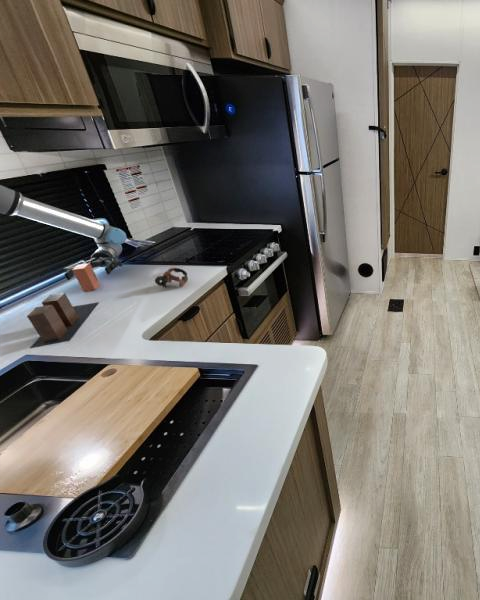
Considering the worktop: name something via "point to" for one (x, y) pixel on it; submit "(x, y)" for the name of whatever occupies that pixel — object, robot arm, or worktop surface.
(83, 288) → the terracotta toy brick
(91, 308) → the dark gray mat
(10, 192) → the robot arm
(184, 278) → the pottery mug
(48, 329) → the dark brown cuboid
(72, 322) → the brown wooden block
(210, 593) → the worktop surface
